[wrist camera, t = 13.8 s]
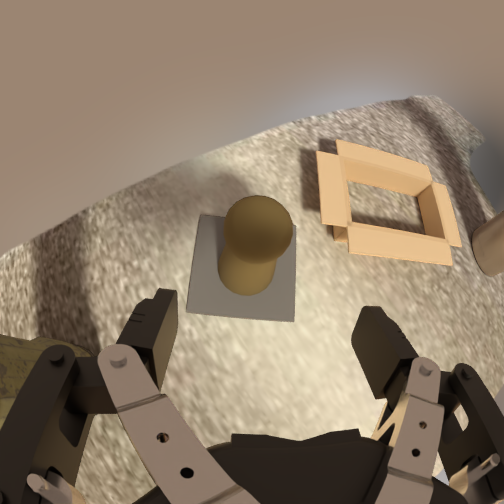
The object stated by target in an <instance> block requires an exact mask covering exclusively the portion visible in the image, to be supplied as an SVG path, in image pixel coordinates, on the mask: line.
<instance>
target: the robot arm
mask: <svg viewBox="0 0 504 504" xmlns="http://www.w3.org/2000/svg"><path fill="white" fill-rule="evenodd" d="M472 246H473V251H474V255H475V258H476V260H477V262H478V265H479V266H480V268H481V269H482V271H483V272H484V273H485V274H486V275H488V276H491V277H492V276H495V275H497V274H499V273H501V272H503V271H504V210H503V211H502V212H500V213H499V214H498V215H496V216H495V217H493V218H492V219H491V220H489V221H488V222H486V223H485V224H483V225H482V226H480V227H479V228H477V229H476V230H475V231H474V232H473V235H472ZM177 329H178V301H177V291H176V290H170V289H162V288H159V289H158V290H157V292H156V294H155V296H154V298H153V299H147V298H145V299H144V300H142V301H141V302H140V303H138V304H137V305H136V307H135V309H134V311H133V312H132V314H131V316H130V318H129V321H127V323H126V325H125V327H124V329H123V331H122V333H121V335H120V336H119V338H118V340H117V342H116V344H114V345H110V346H108V347H106V348H104V349H103V350H102V351H101V352H100V353H99V355H98V356H94V357H76V356H75V353H74V351H73V350H72V349H71V348H70V347H68V346H66V345H62V344H58V345H53V346H50V347H48V348H46V349H45V350H44V351H43V352H42V353H41V355H40V357H39V358H38V360H37V362H36V363H35V365H34V367H33V368H32V370H31V372H30V373H29V375H28V377H27V379H26V380H25V382H24V384H23V386H22V388H21V389H20V391H19V393H18V395H17V397H16V399H15V401H14V403H13V405H12V407H11V409H10V411H9V413H8V415H7V417H6V419H5V421H4V423H3V426H2V428H1V430H0V504H86V502H85V499H84V497H83V496H82V494H81V493H80V492H79V491H78V490H77V489H76V488H74V487H75V483H76V478H77V474H78V470H79V466H80V462H81V458H82V455H83V451H84V447H85V444H86V440H87V437H88V434H89V430H90V427H91V424H92V421H93V418H94V415H95V414H118V416H119V419H120V421H121V423H122V425H123V427H124V429H125V431H126V433H127V435H128V437H129V439H130V441H131V443H132V445H133V447H134V448H135V450H136V452H137V454H138V456H139V458H140V459H141V461H142V463H143V465H144V466H145V468H146V470H147V471H148V473H149V475H150V476H151V478H152V479H153V481H154V482H155V484H156V487H155V488H153V489H152V490H151V491H149V492H148V493H147V494H145V495H144V496H142V497H141V498H140V499H138V500H137V501H135V502H134V503H132V504H498V503H500V502H501V501H503V500H504V416H503V415H502V413H501V411H500V409H499V407H498V406H497V404H496V402H495V401H494V399H493V397H492V396H491V394H490V392H489V391H488V389H487V388H486V386H485V385H484V383H483V381H482V380H481V378H480V377H479V375H478V374H477V372H476V371H475V370H474V369H473V368H472V367H471V366H469V365H467V364H464V363H459V364H457V365H456V366H455V367H454V369H453V371H452V372H446V371H440V369H439V367H438V365H437V364H436V363H435V362H433V361H432V360H430V359H428V358H425V357H419V356H418V354H417V353H416V351H415V350H414V348H413V347H412V345H411V344H410V342H409V341H408V339H406V336H405V335H404V333H402V330H401V329H400V328H399V326H398V325H397V323H395V322H394V321H393V320H392V319H390V318H389V317H388V316H387V315H386V314H385V312H384V311H383V309H382V308H381V307H380V306H364V307H363V308H362V310H361V312H360V315H359V318H358V320H357V323H356V325H355V328H354V330H353V333H352V338H351V343H352V347H353V349H354V351H355V353H356V356H357V358H358V360H359V362H360V365H361V367H362V369H363V371H364V374H365V376H366V378H367V381H368V383H369V385H370V388H371V390H372V392H373V395H374V397H375V399H383V398H386V399H387V402H386V403H385V405H384V407H383V409H382V412H381V415H380V417H379V420H378V422H377V425H376V427H375V430H374V432H373V434H372V436H371V438H366V437H361V436H360V432H359V429H351V430H343V431H334V432H329V433H326V434H323V435H319V436H316V437H313V438H310V439H306V440H303V441H296V440H290V439H284V438H279V437H274V436H269V435H254V434H232V435H231V442H226V443H221V444H217V445H214V446H211V447H208V448H205V447H204V446H203V445H202V443H201V442H200V441H199V439H198V438H197V437H196V435H195V434H194V433H193V431H192V430H191V429H190V427H189V426H188V425H187V423H186V422H185V420H184V419H183V418H182V416H181V415H180V413H179V412H178V410H177V409H176V407H175V406H174V404H173V403H172V401H171V400H170V399H169V397H168V396H167V395H166V394H161V393H160V391H161V388H162V384H163V380H164V377H165V373H166V369H167V366H168V362H169V359H170V355H171V352H172V348H173V345H174V341H175V338H176V334H177ZM460 404H461V405H462V407H463V409H464V410H465V412H466V414H467V416H468V420H469V422H468V426H467V428H466V429H465V430H464V431H462V429H461V427H460V424H459V422H458V420H457V418H456V416H455V414H454V411H455V410H456V409H457V408H458V407H459V405H460ZM437 451H438V453H439V455H440V458H441V461H442V464H443V466H444V469H445V472H446V475H447V478H448V481H449V486H448V485H446V484H444V483H443V482H441V481H440V480H438V479H436V478H435V477H433V476H432V473H433V469H434V465H435V461H436V456H437Z"/></svg>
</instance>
